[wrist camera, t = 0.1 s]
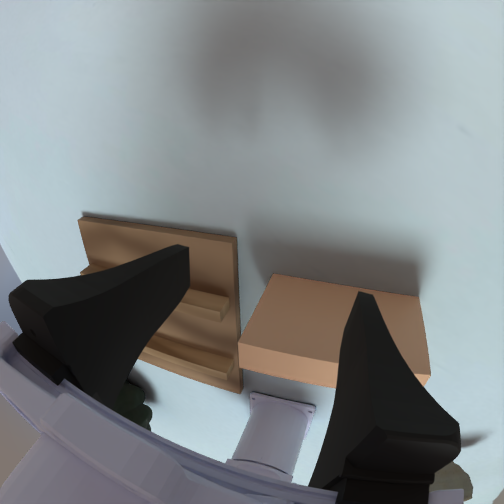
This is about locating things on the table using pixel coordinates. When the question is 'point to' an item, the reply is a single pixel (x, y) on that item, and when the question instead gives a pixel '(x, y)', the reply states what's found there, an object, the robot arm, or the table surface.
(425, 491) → the robot arm
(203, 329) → the ribbed wooden panel
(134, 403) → the squash
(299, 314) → the clay block
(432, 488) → the ceramic fragment
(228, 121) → the table surface
